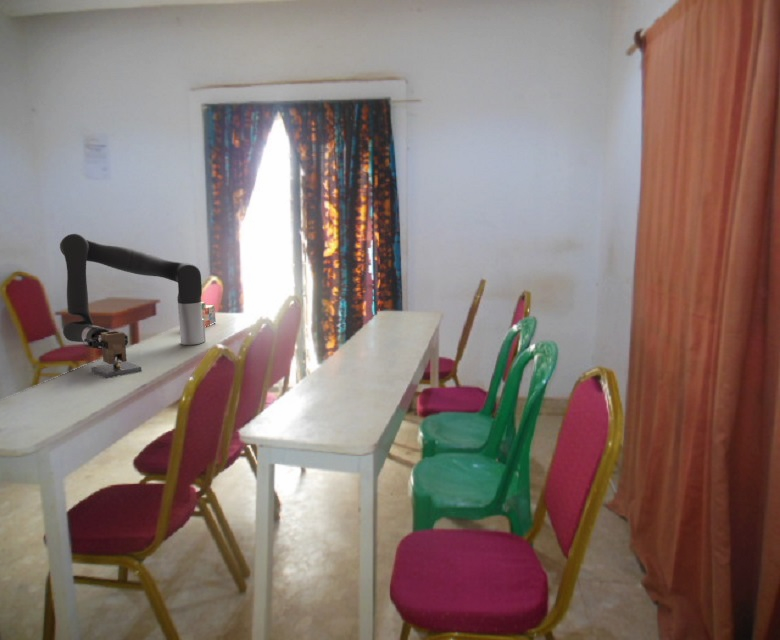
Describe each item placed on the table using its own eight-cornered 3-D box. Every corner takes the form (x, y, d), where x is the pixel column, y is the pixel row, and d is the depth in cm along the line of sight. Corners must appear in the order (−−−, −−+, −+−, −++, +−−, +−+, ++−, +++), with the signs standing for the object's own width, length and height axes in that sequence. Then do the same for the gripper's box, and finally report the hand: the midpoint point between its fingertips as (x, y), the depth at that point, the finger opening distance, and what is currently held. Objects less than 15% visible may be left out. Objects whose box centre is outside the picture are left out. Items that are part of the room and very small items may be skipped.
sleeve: (103, 361, 202) (100, 332, 200) (119, 358, 206) (117, 330, 204) (110, 364, 198) (107, 335, 197) (126, 361, 202) (124, 332, 201)
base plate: (91, 371, 203) (89, 353, 202) (126, 365, 211) (124, 347, 210) (105, 378, 195) (103, 359, 194) (141, 371, 203) (139, 352, 202)
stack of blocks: (204, 323, 291) (202, 298, 289) (216, 323, 290) (214, 299, 288) (181, 332, 271) (180, 305, 268) (194, 332, 270) (192, 305, 267)
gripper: (74, 329, 205) (93, 336, 194) (116, 323, 215) (136, 330, 204) (76, 350, 206) (95, 358, 195) (117, 343, 217) (138, 351, 205)
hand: (116, 343), depth 200 cm, fingers closed on sleeve, 5 cm apart
